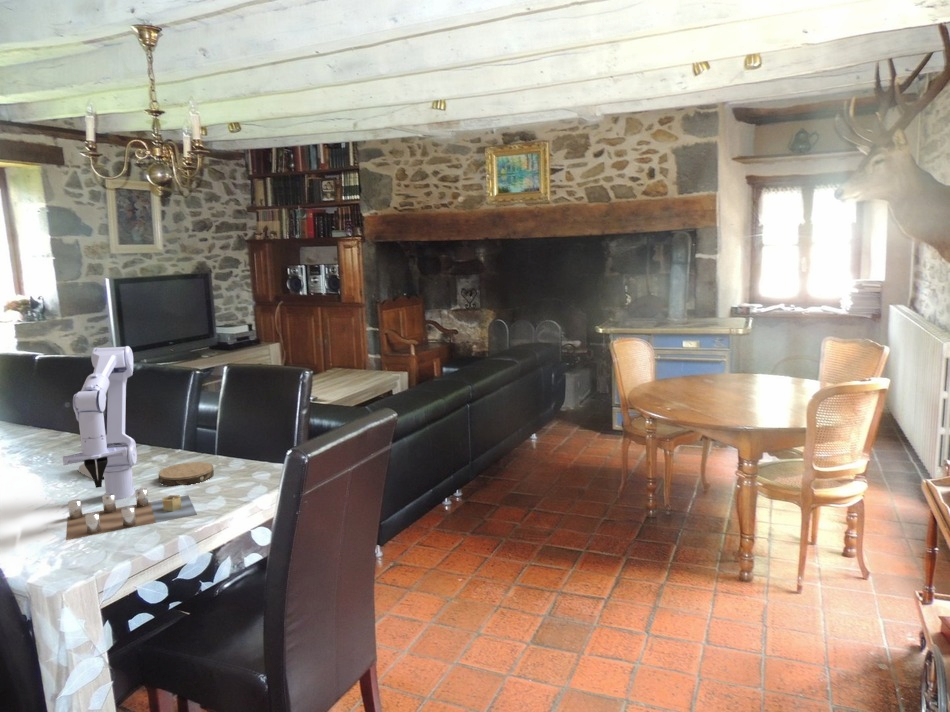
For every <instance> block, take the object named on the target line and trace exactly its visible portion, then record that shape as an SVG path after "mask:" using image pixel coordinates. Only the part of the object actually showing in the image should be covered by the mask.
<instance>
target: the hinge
mask: <svg viewBox="0 0 950 712" xmlns="http://www.w3.org/2000/svg"><path fill="white" fill-rule="evenodd" d="M95 464H96V463H95ZM77 471H79V472H78V473H80V472H81V474H83V475H84V474H85V475H84V476H86V477H88V478H90V479H92V480H93V478H92V476H91V474H90V473H89V471H88V470H87V468H86V467H85V465H84V463H82V464H80V465H79V466H78V470H77ZM96 474H97V479H98V469H97V466H96ZM103 478H104V474H103Z"/></svg>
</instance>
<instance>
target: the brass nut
mask: <svg viewBox="0 0 950 712" xmlns="http://www.w3.org/2000/svg"><path fill="white" fill-rule="evenodd" d="M161 500H162V501H163V510H164V512H166V511H176V510H178V509H181V499H180V494H174V495H173V494H172V495H170V494H169V495H168V496H164V497H162V498H161Z"/></svg>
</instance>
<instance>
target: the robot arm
mask: <svg viewBox="0 0 950 712" xmlns="http://www.w3.org/2000/svg"><path fill="white" fill-rule="evenodd" d="M90 357H91V363H92V364H91V365H92V367H93V368H94V369H93V373H90V374H89V375H88V376H87V377H86V379H85V381H84V383H83V385H82V387H81V390H80V391H78V392H76V393H75V394H73V398H72V408H73V411H74V413H75V419H76V421H77V422H78V425H79V426H78V427H79V428H78V429H79V434H80V444H81V452H78V453H74V454H69V455H63V456H62V463H63V466H67V465H71V464H77V463H78V464H79V463H83V464H84V465H85V467H86V468H87V470H88V471H89V473H90V474H91V476H92V478H93V479H92V478H91V479H92V480H93V483H94V485H95V486H94V487H95V488H96V489H97V488H98V489H99V488H102V487H103V485H102V483H103V478H104V490H105V493H104V495H106V494H115V501H118V500H124V499H127V498H130V497H132V496H134V495H135V490H136V489H135V488H134V478H133V468H132V467H134V466H135V465H136V463H137V461H138V451H137V445H136V444H137V443H136V441H135V439H134V438H132V437H131V436H129V435H127V434H126V412H127V411H126V407H127V406H126V405H127V404H126V400H127V399H126V398H127V382H128V378H131V377H132V376H133V374H134V373H133V372H134V354H133V350H132V348H131V347H130V346H129V345H126V346H117V347H116V346H114V347H112V346H111V347H94V348H93V349H92V351H91V356H90ZM106 394H107V395H106ZM106 403H107V405H106ZM106 406H107V407H106ZM106 408H107V412H106V414H107V416H106V417H107V418H106V424H105V417H104V412H105V410H106ZM105 425H106V426H105ZM105 427H106V428H105ZM95 463H96V464H95ZM96 466H97V469H98V479H97V474H96ZM103 474H104V477H103Z"/></svg>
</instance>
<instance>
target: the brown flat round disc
mask: <svg viewBox="0 0 950 712" xmlns="http://www.w3.org/2000/svg"><path fill="white" fill-rule="evenodd" d="M214 470H215V469H214V465H213V464H212V463H208V462H201V461H198V462H197V461H196V462H185V463H179V464H174V465H172V466H168V467H167V466H166V467H165V468H163V469H161V470H160V471H159V473H158V482H159V484H160V483H161V484H163V485H162V486H164V485H167V486H166V487H177V486H184V485H187V486H192V485H191V484H193V485H197V484H196V483H198V484H200V482H201V483H205V482H206V480H207V481H208V479H209V480H211V479H212V478H213V477H214V474H215V472H214ZM210 478H211V479H210ZM161 484H160V485H161Z"/></svg>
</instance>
